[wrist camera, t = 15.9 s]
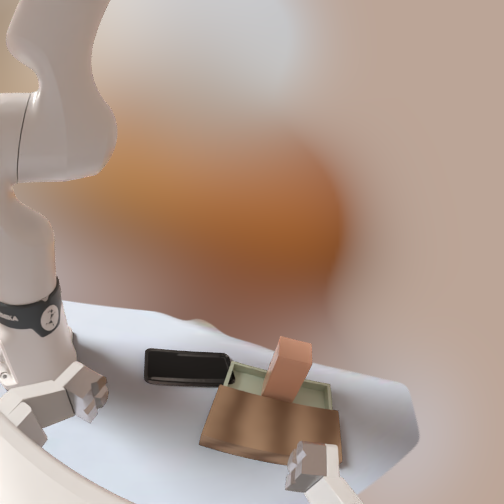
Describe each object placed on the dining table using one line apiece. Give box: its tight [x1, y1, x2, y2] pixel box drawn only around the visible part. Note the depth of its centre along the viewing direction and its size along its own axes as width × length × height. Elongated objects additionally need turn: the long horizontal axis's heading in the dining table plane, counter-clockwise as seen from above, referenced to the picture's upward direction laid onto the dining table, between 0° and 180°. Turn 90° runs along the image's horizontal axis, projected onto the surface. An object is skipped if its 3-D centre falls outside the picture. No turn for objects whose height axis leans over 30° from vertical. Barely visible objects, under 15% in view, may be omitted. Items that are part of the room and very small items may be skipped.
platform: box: [199, 385, 342, 465], centre depth 33 cm, size 19×10×3 cm, turn 81°
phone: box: [144, 348, 235, 387], centre depth 43 cm, size 8×1×15 cm
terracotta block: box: [261, 336, 312, 403], centre depth 40 cm, size 5×5×10 cm
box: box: [224, 361, 332, 410], centre depth 42 cm, size 18×7×2 cm, turn 81°
